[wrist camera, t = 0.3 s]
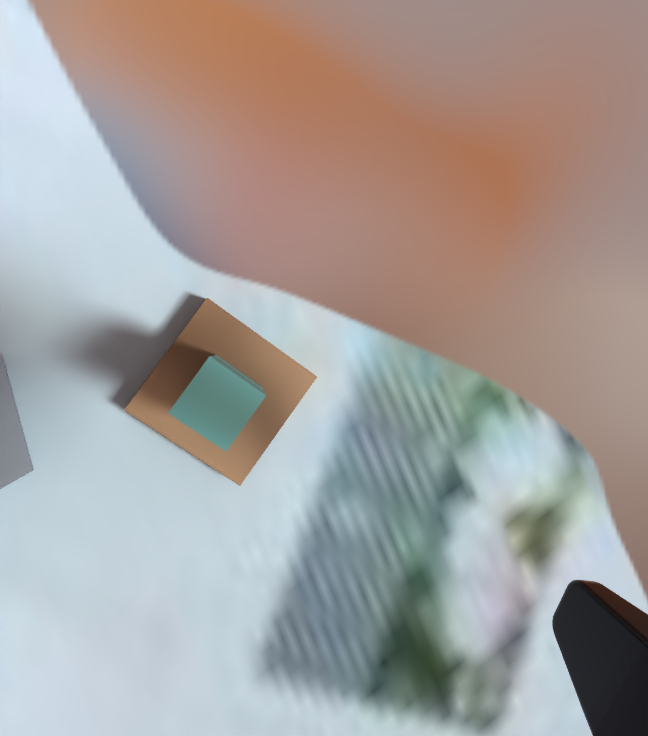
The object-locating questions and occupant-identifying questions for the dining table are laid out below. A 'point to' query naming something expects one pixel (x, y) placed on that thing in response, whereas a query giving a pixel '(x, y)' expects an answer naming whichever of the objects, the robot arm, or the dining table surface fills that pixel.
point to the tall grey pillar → (11, 435)
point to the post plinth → (245, 356)
